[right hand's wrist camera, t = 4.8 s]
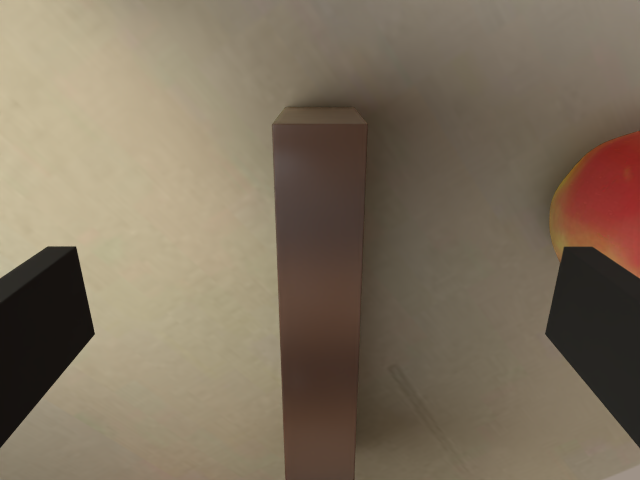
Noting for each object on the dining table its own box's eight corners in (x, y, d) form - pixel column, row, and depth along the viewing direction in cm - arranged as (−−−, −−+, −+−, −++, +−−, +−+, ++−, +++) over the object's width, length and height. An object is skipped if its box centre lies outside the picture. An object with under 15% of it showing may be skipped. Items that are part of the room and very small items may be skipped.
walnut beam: (345, 451, 35) (351, 547, 28) (294, 451, 35) (288, 547, 28) (354, 107, 26) (367, 123, 19) (284, 107, 26) (271, 123, 19)
